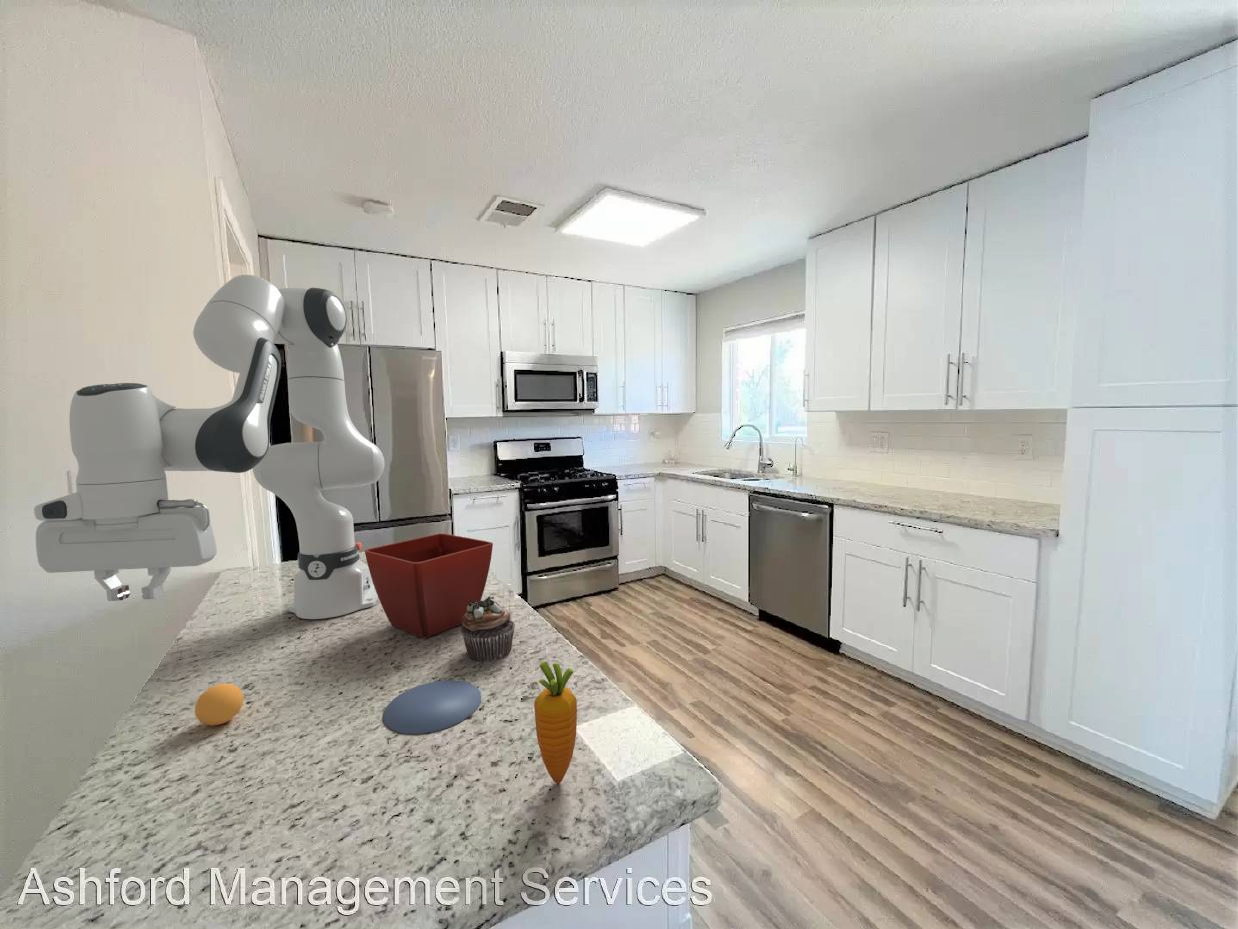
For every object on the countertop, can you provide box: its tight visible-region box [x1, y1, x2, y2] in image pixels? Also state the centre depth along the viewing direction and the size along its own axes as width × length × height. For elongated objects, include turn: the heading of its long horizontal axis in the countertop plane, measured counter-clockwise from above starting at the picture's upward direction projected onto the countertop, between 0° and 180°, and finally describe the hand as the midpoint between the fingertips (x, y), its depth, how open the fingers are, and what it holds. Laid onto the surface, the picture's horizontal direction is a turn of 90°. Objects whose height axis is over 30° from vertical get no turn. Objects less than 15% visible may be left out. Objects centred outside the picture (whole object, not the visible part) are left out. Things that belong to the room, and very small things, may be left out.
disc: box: [382, 679, 482, 735], centre depth 76 cm, size 14×14×1 cm
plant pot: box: [364, 533, 494, 639], centre depth 107 cm, size 19×19×17 cm
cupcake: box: [460, 595, 516, 663], centre depth 93 cm, size 10×10×10 cm
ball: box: [194, 683, 244, 726], centre depth 73 cm, size 6×6×6 cm
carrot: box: [533, 660, 578, 785], centre depth 59 cm, size 5×5×15 cm
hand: (136, 598), depth 70 cm, fingers open, 3 cm apart
